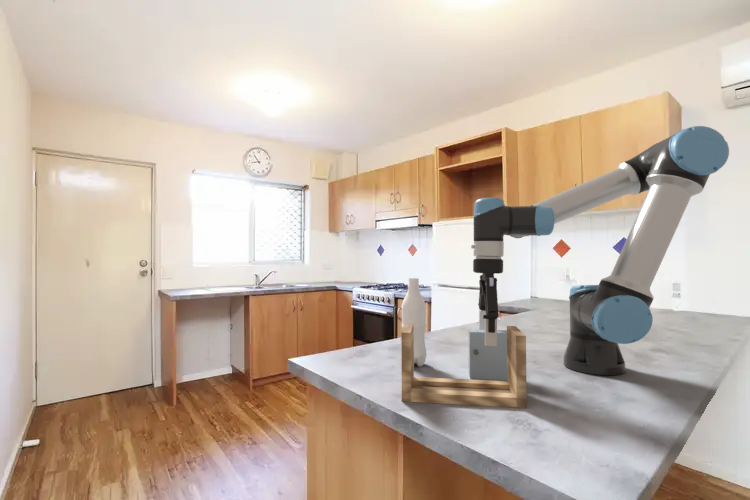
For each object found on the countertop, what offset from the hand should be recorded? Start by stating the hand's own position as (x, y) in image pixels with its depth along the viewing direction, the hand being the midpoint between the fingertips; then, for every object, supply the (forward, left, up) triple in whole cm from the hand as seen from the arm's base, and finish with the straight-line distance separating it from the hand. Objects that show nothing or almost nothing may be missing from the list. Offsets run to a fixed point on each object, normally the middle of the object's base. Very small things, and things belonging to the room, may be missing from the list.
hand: (487, 339), depth 102 cm
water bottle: (+20, -9, -10) cm, 24 cm away
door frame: (+8, +15, -10) cm, 19 cm away
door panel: (0, 0, -10) cm, 10 cm away
